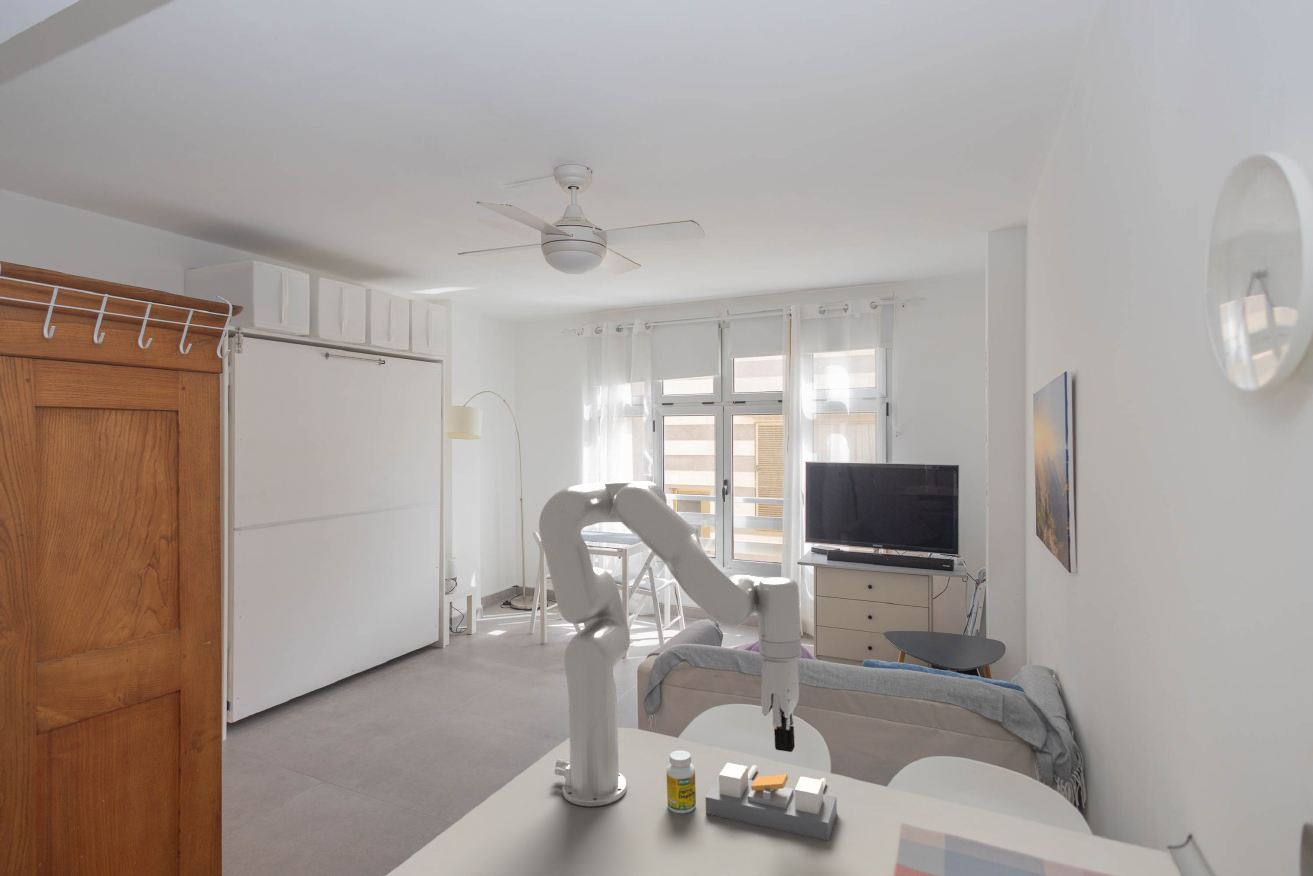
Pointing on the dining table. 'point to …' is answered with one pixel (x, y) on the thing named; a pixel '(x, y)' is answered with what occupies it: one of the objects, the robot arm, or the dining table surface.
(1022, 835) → the dining table surface
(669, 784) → the supplement bottle
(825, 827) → the power strip
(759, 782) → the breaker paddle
